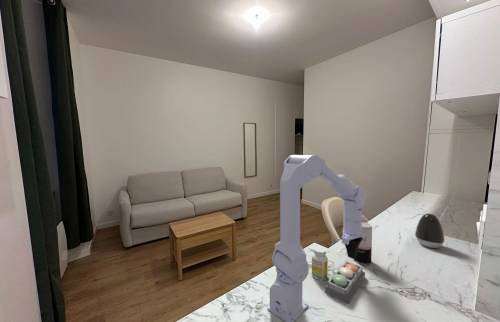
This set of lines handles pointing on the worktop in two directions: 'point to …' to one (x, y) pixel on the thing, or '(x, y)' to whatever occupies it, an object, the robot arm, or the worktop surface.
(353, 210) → the robot arm
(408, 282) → the worktop surface
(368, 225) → the grey black container
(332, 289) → the tray of pastel eggs
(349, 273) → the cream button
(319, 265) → the supplement bottle
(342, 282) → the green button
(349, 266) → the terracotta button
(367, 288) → the worktop surface
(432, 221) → the dark egg shaped speaker
